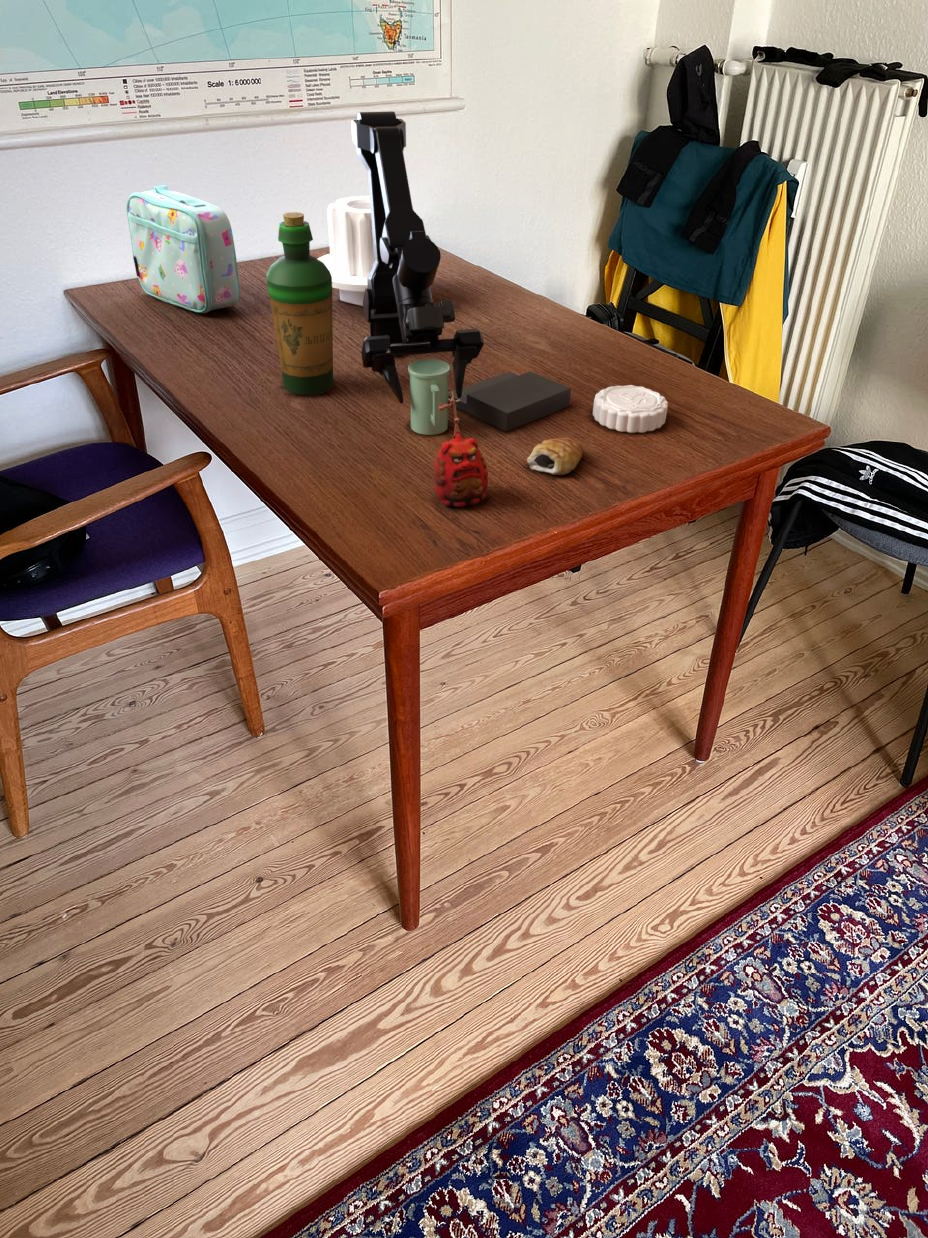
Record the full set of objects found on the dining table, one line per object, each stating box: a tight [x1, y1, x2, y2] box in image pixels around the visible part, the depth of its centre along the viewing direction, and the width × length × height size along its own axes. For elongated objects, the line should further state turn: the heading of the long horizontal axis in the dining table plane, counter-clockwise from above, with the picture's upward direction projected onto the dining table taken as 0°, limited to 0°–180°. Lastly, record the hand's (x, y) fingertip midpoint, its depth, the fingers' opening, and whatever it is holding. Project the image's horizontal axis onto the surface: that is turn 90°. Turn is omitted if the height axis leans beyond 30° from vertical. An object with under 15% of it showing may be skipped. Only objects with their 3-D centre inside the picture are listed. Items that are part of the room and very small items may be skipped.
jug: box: [407, 358, 451, 436], centre depth 142 cm, size 9×6×10 cm
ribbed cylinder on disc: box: [317, 195, 375, 307], centre depth 188 cm, size 25×25×19 cm
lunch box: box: [126, 184, 241, 314], centre depth 183 cm, size 27×10×21 cm, turn 49°
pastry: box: [526, 437, 584, 476], centre depth 135 cm, size 9×7×4 cm
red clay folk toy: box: [434, 390, 489, 508], centre depth 123 cm, size 8×7×15 cm
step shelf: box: [448, 370, 572, 432], centre depth 152 cm, size 14×15×3 cm
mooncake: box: [592, 384, 669, 434], centre depth 148 cm, size 12×12×4 cm
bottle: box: [265, 211, 334, 396], centre depth 148 cm, size 11×11×28 cm
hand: (431, 399), depth 141 cm, fingers open, 9 cm apart
